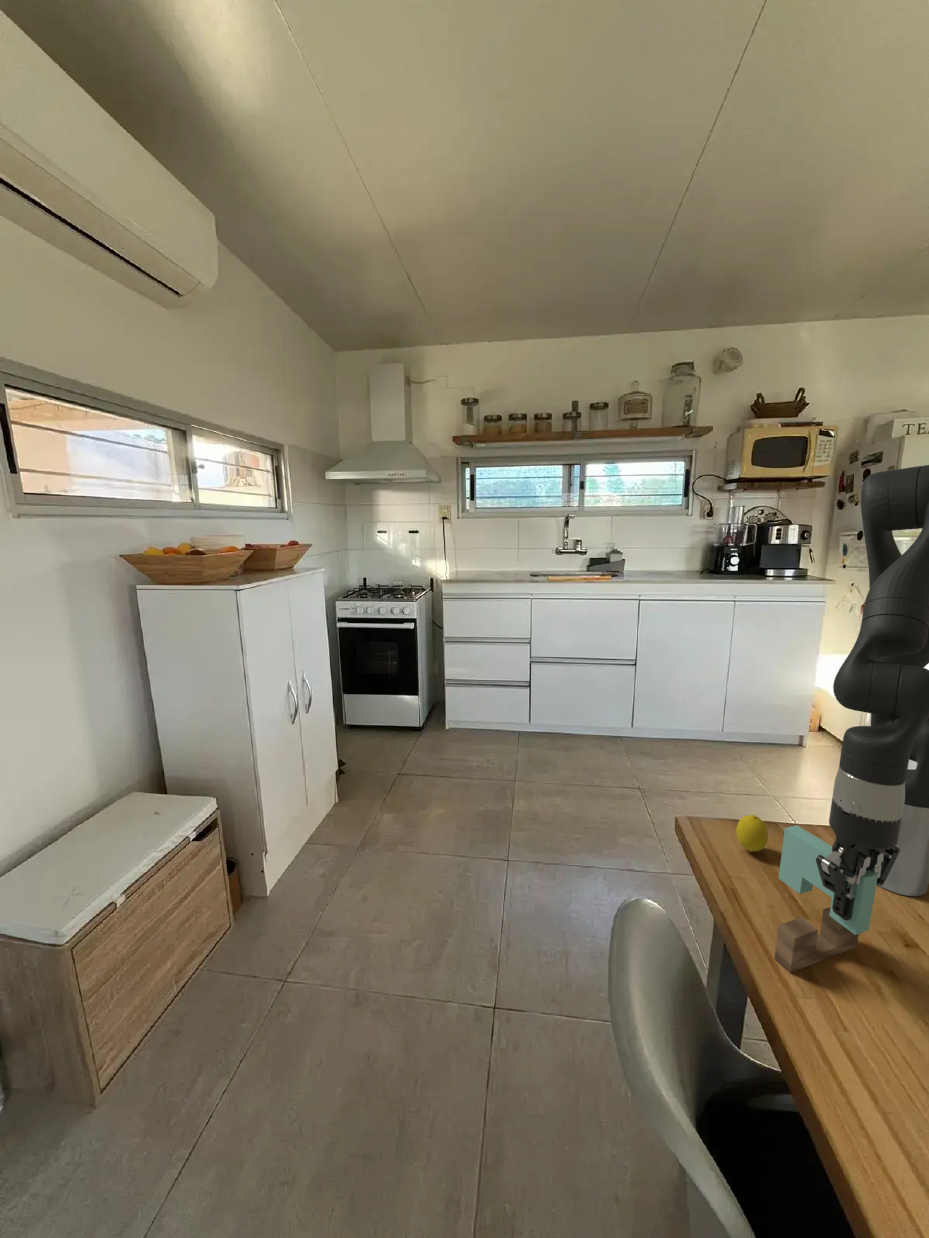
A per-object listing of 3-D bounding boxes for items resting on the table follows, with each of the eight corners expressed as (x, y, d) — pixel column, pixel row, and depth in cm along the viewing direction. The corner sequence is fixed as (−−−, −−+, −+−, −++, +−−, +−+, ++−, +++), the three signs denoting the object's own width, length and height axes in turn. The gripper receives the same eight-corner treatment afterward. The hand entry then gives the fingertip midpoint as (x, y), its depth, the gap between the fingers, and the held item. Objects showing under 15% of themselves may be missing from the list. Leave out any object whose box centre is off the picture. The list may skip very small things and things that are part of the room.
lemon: (770, 861, 98) (774, 824, 96) (739, 858, 99) (743, 821, 98) (760, 844, 103) (763, 809, 102) (730, 841, 104) (734, 806, 103)
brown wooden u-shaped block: (839, 934, 81) (844, 901, 80) (856, 946, 78) (861, 913, 77) (774, 958, 76) (778, 924, 75) (790, 973, 74) (794, 938, 73)
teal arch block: (778, 878, 81) (784, 828, 79) (790, 874, 82) (797, 825, 80) (855, 934, 70) (864, 877, 68) (868, 930, 71) (878, 873, 69)
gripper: (872, 781, 74) (856, 884, 77) (802, 798, 70) (788, 906, 73) (932, 808, 67) (912, 920, 70) (859, 828, 63) (840, 946, 66)
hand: (849, 912), depth 72 cm, fingers closed on teal arch block, 2 cm apart
